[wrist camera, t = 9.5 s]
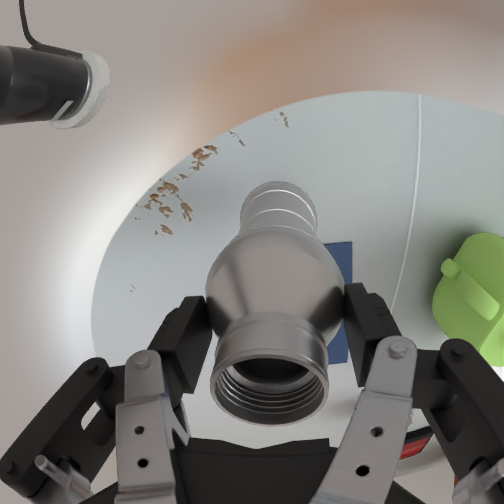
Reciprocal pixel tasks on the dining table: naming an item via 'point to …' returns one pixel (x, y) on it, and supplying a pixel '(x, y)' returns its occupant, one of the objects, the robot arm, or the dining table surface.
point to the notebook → (416, 442)
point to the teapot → (474, 296)
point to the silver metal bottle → (274, 311)
